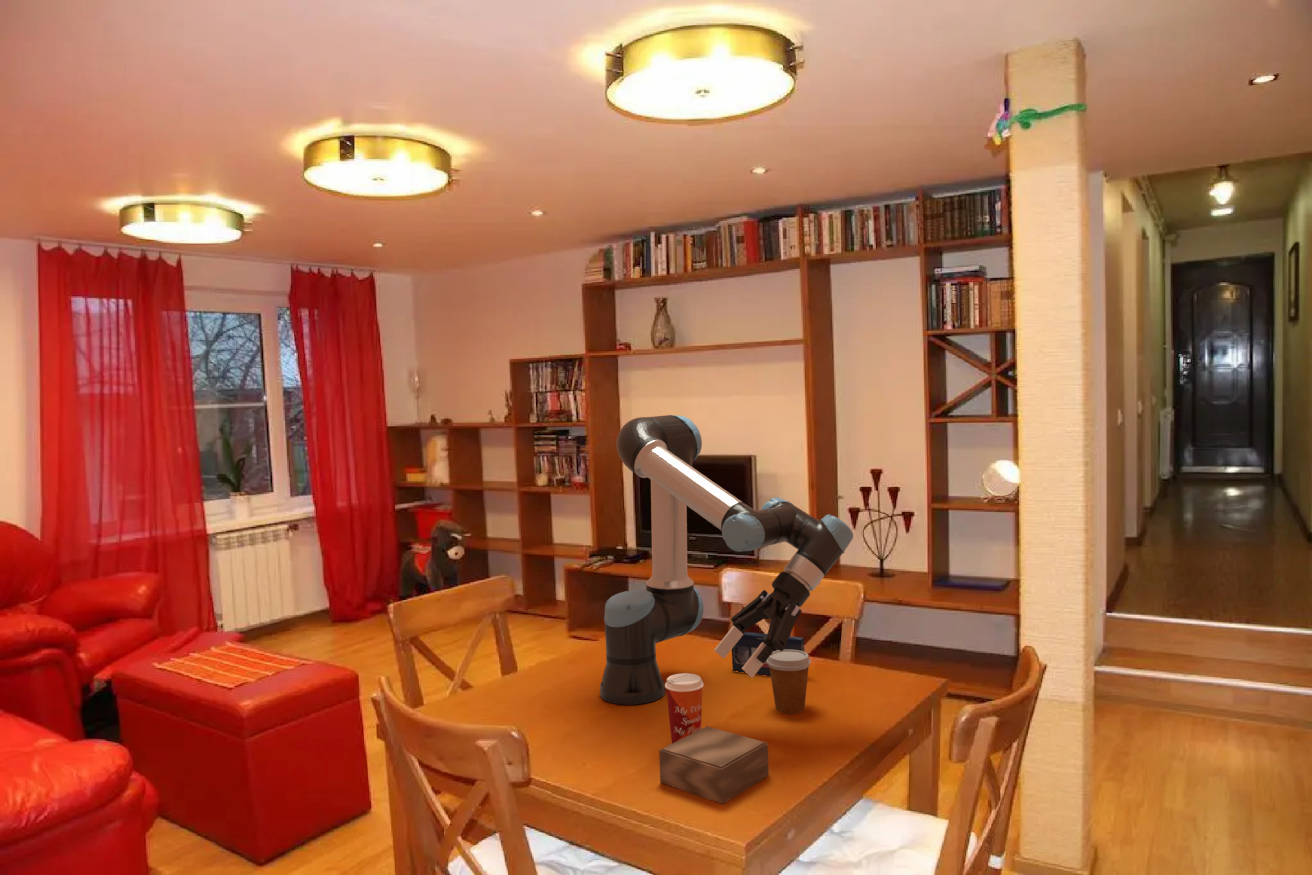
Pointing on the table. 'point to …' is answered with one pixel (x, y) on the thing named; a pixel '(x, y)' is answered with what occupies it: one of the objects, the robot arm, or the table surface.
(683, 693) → the paper cup
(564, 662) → the table surface
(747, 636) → the vhs cassette tape
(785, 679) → the disposable coffee cup
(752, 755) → the walnut box
